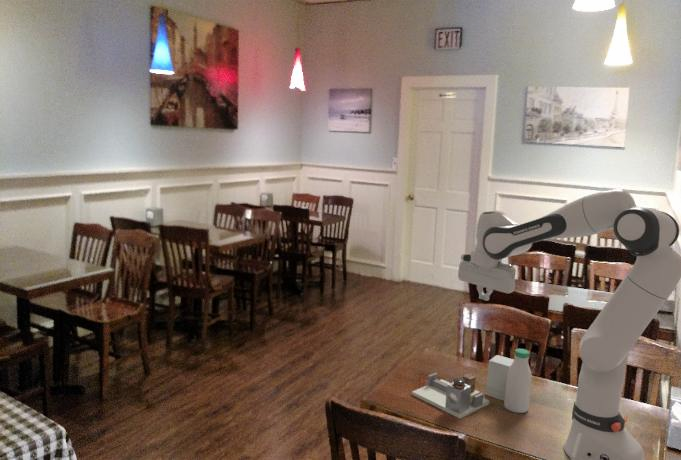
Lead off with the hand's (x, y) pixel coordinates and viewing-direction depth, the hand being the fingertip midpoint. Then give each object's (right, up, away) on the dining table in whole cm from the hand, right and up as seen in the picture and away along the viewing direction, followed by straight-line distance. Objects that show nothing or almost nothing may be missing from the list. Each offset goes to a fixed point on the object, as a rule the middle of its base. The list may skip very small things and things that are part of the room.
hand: (483, 299), depth 186 cm
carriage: (-6, -33, -1) cm, 34 cm away
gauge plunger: (-10, -33, -7) cm, 35 cm away
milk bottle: (+10, -36, -2) cm, 37 cm away
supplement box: (+7, -34, +7) cm, 35 cm away
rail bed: (-11, -34, +2) cm, 36 cm away
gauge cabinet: (-10, -35, -6) cm, 37 cm away
